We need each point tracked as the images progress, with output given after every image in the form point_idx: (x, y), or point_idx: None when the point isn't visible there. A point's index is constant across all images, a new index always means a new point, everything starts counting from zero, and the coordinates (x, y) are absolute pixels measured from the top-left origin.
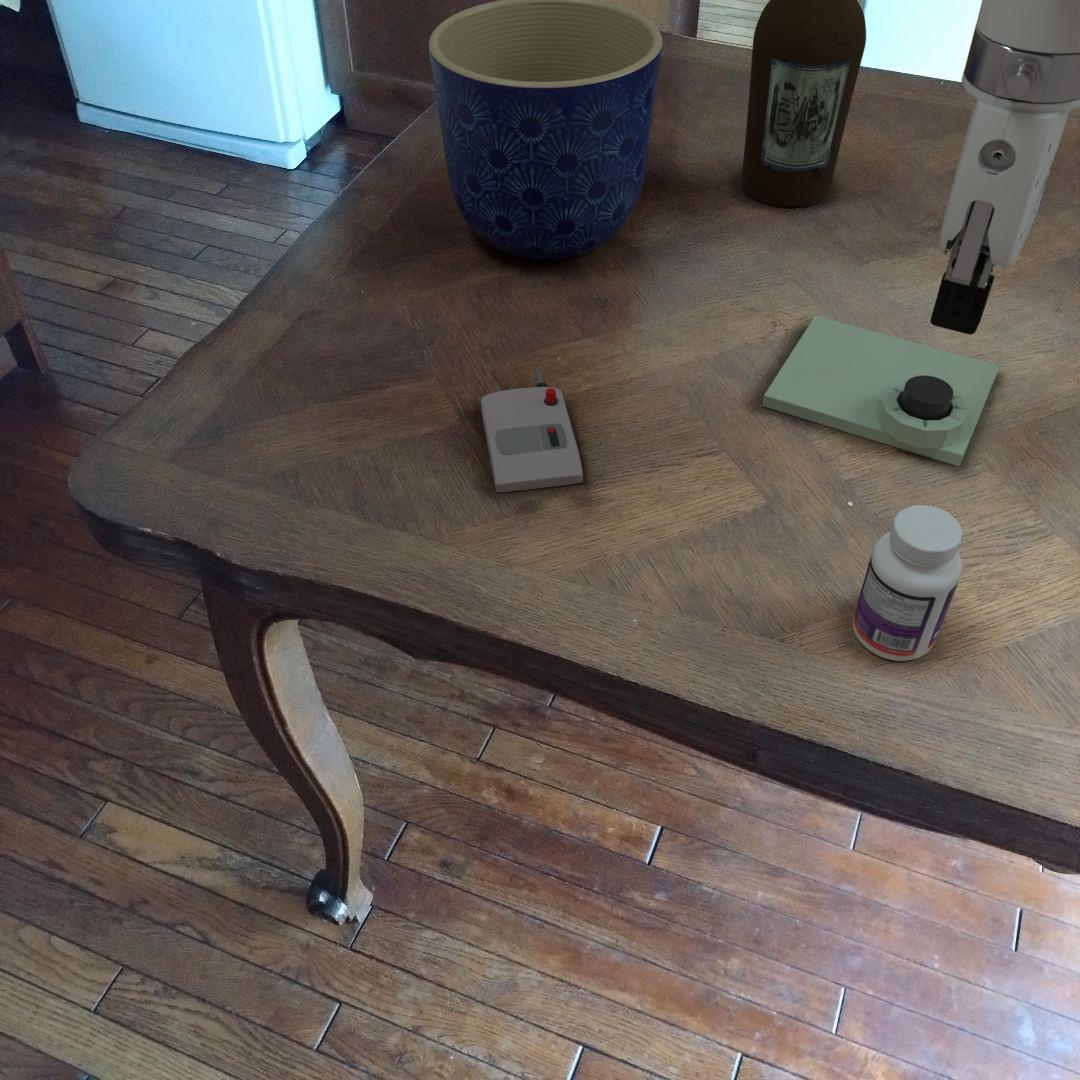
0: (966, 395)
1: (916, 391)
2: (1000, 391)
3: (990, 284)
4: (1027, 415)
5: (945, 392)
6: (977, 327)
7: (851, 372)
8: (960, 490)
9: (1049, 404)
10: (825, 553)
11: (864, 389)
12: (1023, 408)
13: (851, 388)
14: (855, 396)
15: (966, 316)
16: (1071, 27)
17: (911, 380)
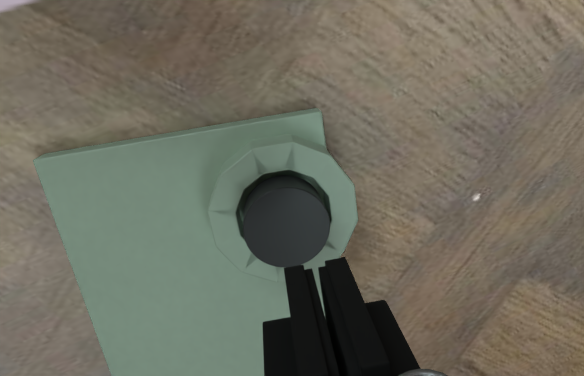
0: (164, 171)
1: (306, 243)
2: (78, 130)
3: (376, 366)
4: (109, 65)
5: (277, 203)
6: (326, 262)
7: (231, 330)
8: (367, 83)
9: (47, 42)
10: (580, 178)
11: (258, 298)
12: (95, 78)
13: (268, 312)
14: (283, 299)
15: (392, 315)
16: None
17: (280, 262)
